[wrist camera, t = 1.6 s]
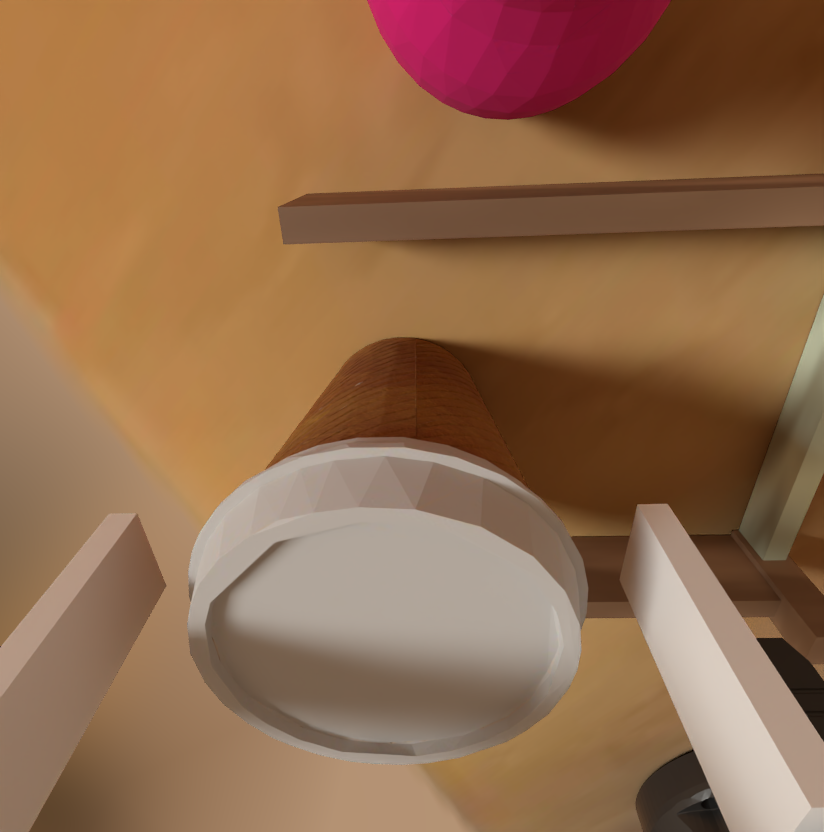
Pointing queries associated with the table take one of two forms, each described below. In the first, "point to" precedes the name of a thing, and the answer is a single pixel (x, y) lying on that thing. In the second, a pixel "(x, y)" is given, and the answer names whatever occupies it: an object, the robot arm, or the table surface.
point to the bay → (643, 212)
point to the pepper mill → (513, 48)
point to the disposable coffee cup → (389, 575)
